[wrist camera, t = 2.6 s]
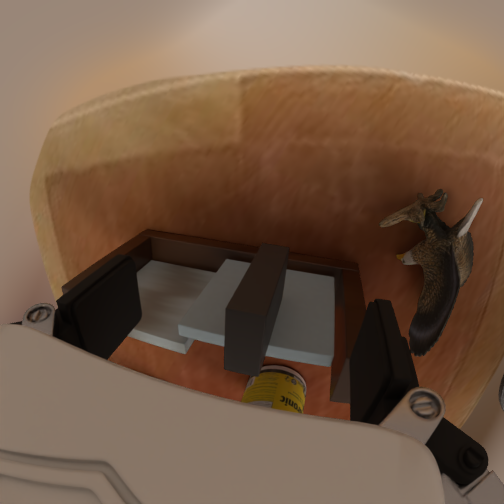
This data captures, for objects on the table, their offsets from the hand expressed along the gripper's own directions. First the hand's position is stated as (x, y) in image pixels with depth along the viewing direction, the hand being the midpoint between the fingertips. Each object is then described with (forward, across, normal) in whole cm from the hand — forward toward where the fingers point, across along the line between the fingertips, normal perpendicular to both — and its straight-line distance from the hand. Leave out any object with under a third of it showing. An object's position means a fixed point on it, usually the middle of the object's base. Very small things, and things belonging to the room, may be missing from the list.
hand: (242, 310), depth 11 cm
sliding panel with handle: (+8, 0, +1) cm, 8 cm away
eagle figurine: (+10, -10, 0) cm, 14 cm away
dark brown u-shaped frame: (+10, +2, +3) cm, 11 cm away
